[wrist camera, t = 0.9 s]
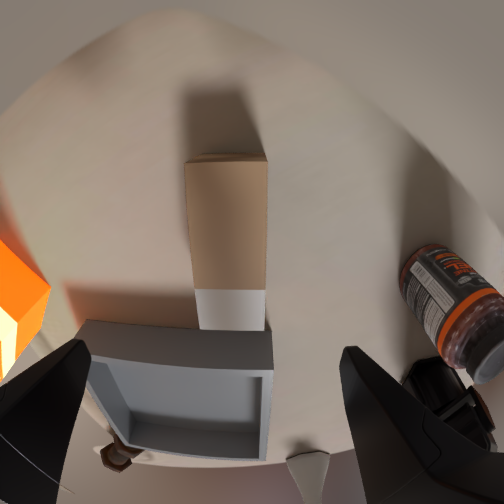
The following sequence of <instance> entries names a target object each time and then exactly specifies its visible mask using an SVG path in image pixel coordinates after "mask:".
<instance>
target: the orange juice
mask: <svg viewBox="0 0 504 504" xmlns="http://www.w3.org/2000/svg"><path fill="white" fill-rule="evenodd" d="M50 289H51V287H50V286H49V285H48V284H46V283H45V282H44V281H43V280H42V279H41V278H39V277H38V276H37V275H36V274H35V273H34V272H33V271H32V270H31V269H29V268H28V267H27V266H26V265H25V264H24V263H23V262H22V261H21V260H20V259H19V258H18V257H17V256H16V255H15V254H14V253H13V252H12V251H11V250H10V249H9V248H8V247H7V246H6V245H5V244H4V243H3V242H2V241H1V240H0V382H1V380H2V379H3V378H4V377H5V375H6V374H7V372H8V371H9V369H10V368H11V367H12V365H13V364H14V362H15V360H16V359H17V358H18V356H19V355H20V353H21V352H22V351H23V350H24V348H25V347H26V346H27V344H28V343H29V342H30V341H31V339H32V338H33V337H34V336H35V334H36V333H37V332H38V331H39V329H40V328H41V323H42V319H43V315H44V311H45V307H46V303H47V299H48V296H49V292H50Z"/></svg>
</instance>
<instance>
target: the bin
mask: <svg viewBox="0 0 504 504" xmlns="http://www.w3.org/2000/svg"><path fill="white" fill-rule="evenodd" d="M74 338H77V339H82V340H84V341H85V343H86V345H87V348H88V350H89V352H90V354H91V357H92V361H91V365H90V369H89V374H88V378H87V382H86V388H87V389H88V391H89V393H90V394H91V396H92V398H93V399H94V401H95V403H96V404H97V406H98V407H99V409H100V410H101V412H102V413H103V415H104V416H105V418H106V419H107V421H108V422H109V424H110V425H111V427H112V428H113V430H114V431H115V432H116V434H117V435H118V436H119V438H120V439H121V441H122V442H123V443H124V444H125V445H126V446H130V447H135V448H139V449H144V450H149V451H154V452H160V453H166V454H172V455H179V456H187V457H195V458H205V459H218V460H236V461H266V453H267V443H268V433H269V422H270V411H271V399H272V387H273V374H274V364H273V347H272V331H235V330H204V329H185V328H168V327H155V326H143V325H132V324H122V323H112V322H104V321H95V320H88V319H87V320H86V321H85V323H84V324H83V325H82V327H81V328H80V330H79V331H78V332H77V334H76V335H75V337H74Z"/></svg>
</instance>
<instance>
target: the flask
mask: <svg viewBox="0 0 504 504" xmlns="http://www.w3.org/2000/svg"><path fill="white" fill-rule="evenodd" d="M329 460H330V455H328V454H325V453H323V452H314V453H307V454H300V455H298V456H295V457H293V458H290V459H287V460H286V462H287V466H288V468H289V470H290V472H291V474H292V476H293V478H294V480H295V482H296V484H297V486H298V488H299V490H300V492H301V494H302V498H303V501H304V504H322V503H321V495H322V488H323V484H324V480H325V476H326V472H327V469H328V465H329Z"/></svg>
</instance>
